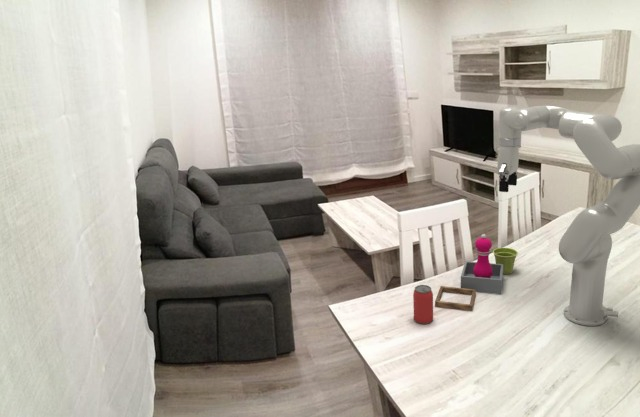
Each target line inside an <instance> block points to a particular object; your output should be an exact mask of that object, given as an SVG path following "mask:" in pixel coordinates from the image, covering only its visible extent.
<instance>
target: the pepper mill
mask: <svg viewBox="0 0 640 417" xmlns="http://www.w3.org/2000/svg"><path fill="white" fill-rule="evenodd" d="M492 243H493V242H492V241H491V239H490V238H488V237H487V235H486V234H485V233H483V234H481V236H480V237H479V238H477V239H476V240H475V242H474V245H475V248H476V255H477V260H476V262H477V263H476V264H475V266H474V269H473V274H474V275H475V277H482V278H490V277H491V276H492V274H493V271H492V267H491V265H490V260H489V259H490V258H489V256H490V254H491V250H490V249H492V245H493V244H492Z"/></svg>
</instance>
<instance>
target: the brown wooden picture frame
mask: <svg viewBox="0 0 640 417" xmlns="http://www.w3.org/2000/svg"><path fill="white" fill-rule="evenodd" d="M437 292H438V293H437V295H436V298H435V300H434V307H435V308H442V309H452V310H461V311H467V312H469V311H470V312H473V310H474V304H475V300H476V295H477V292H476V290H475V289H465V288H461V287H453V286H445V285H440V287H439V290H438V291H437ZM443 293H450V294H456V295H457V294H458V295H466V296H467V295H468V296H471V297H470V301H469V303H459V302H451V301H443V300H441V298H442V295H443Z"/></svg>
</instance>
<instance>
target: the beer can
mask: <svg viewBox="0 0 640 417" xmlns="http://www.w3.org/2000/svg"><path fill="white" fill-rule="evenodd" d="M412 294H413V295H412V298H413V299H412V300H413V301H412V302H413V320H414V321H415V322H416V323H418V324H422V325H423V324H424V325H425V324H426V325H427V324H430V323H431V322H433V320H434V293H433V290H432V287H431V286H429V285H427V284H419V285H417V286H415V287H414V291H413V293H412Z"/></svg>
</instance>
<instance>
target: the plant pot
mask: <svg viewBox="0 0 640 417" xmlns="http://www.w3.org/2000/svg"><path fill="white" fill-rule="evenodd" d="M492 254H493V255H494V260H495V264H503V275H510V274H511V273H513V271H514V265H515V261H516V258H517V256H518V251H517V250H516V249H514V248H511V247H497V248H495V249H493V250H492Z"/></svg>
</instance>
